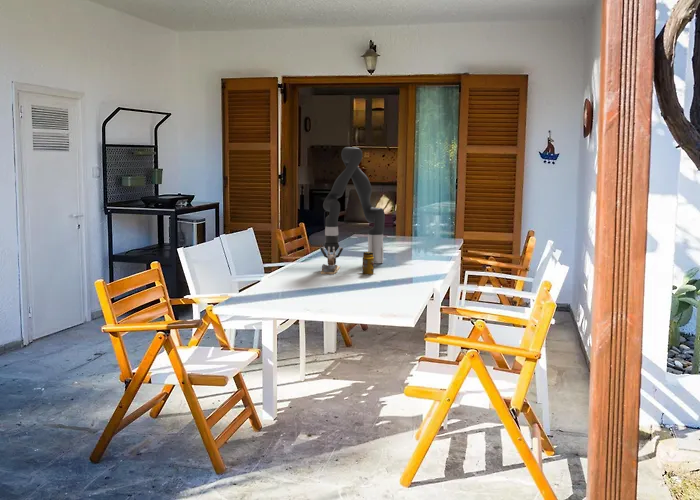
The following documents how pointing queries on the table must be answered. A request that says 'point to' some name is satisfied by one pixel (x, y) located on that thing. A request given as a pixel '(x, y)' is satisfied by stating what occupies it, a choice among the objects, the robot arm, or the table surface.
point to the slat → (331, 260)
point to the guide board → (329, 269)
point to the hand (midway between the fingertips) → (331, 264)
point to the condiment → (368, 264)
